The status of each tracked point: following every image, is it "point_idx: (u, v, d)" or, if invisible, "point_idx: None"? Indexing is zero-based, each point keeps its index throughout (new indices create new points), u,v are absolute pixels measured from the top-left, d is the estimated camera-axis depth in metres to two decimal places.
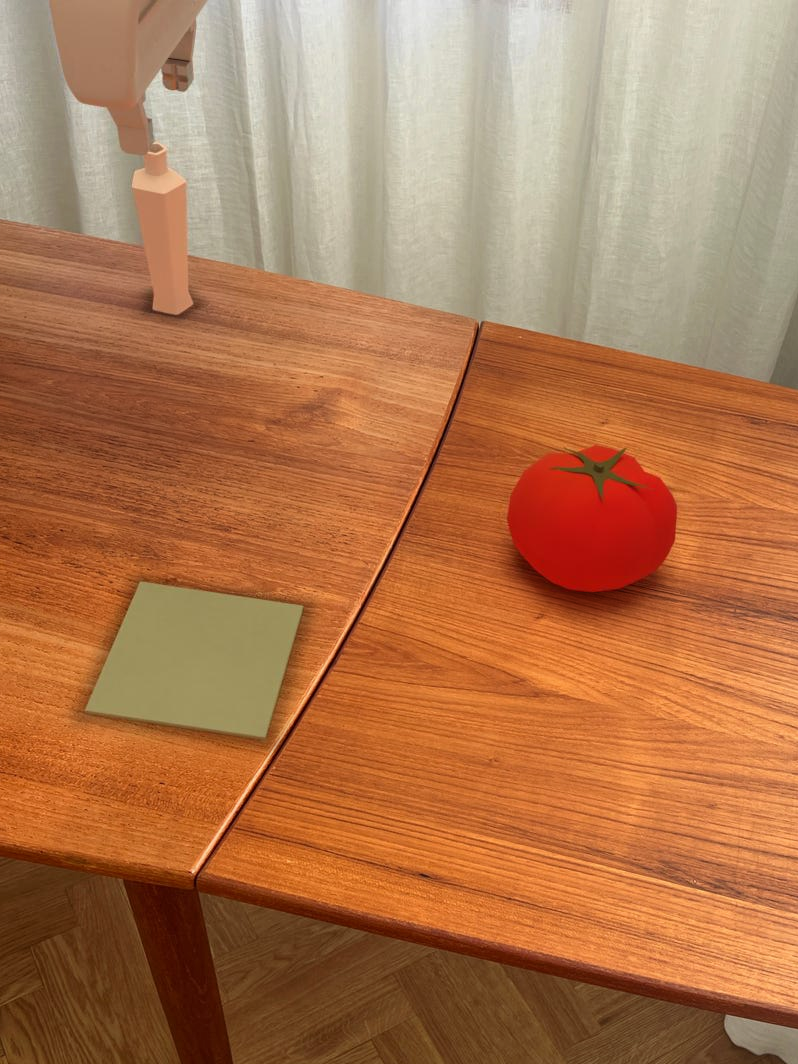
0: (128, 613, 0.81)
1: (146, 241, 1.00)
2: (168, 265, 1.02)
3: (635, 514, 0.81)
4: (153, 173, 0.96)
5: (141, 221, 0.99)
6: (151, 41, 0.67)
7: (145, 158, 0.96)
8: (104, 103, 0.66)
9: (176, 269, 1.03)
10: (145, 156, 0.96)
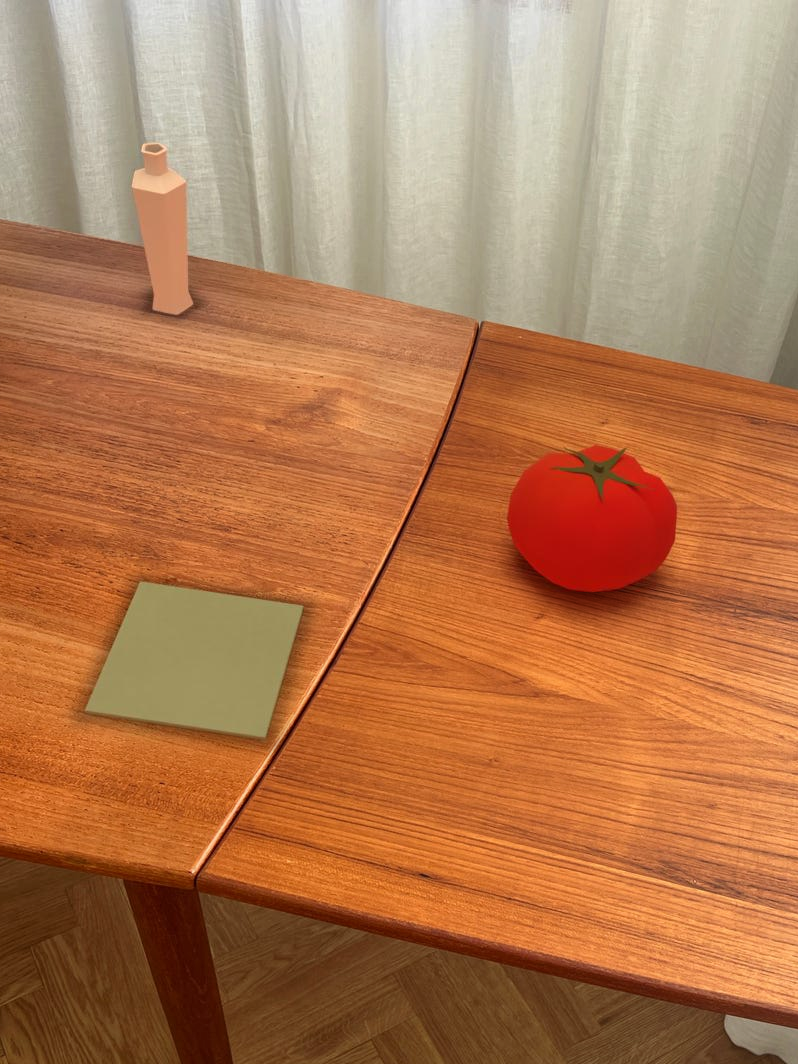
0: (128, 613, 0.81)
1: (146, 241, 1.00)
2: (168, 265, 1.02)
3: (635, 514, 0.81)
4: (153, 173, 0.96)
5: (141, 221, 0.99)
6: None
7: (145, 158, 0.96)
8: None
9: (176, 269, 1.03)
10: (145, 156, 0.96)
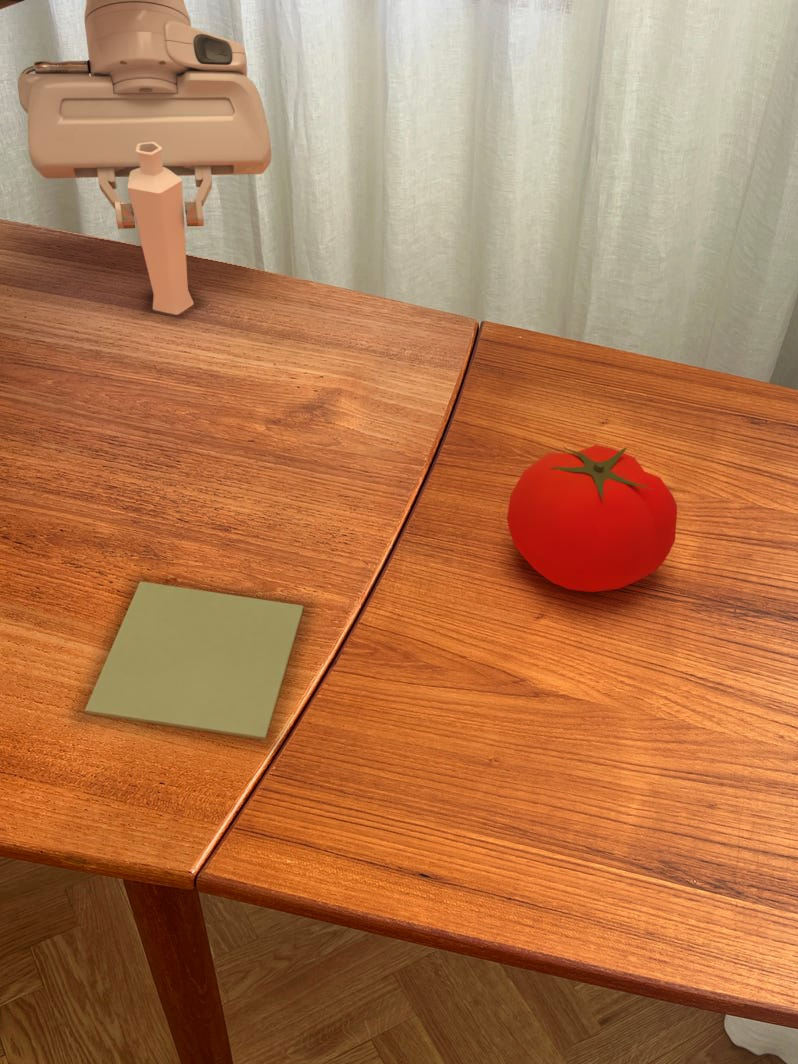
0: (128, 613, 0.81)
1: (143, 241, 1.00)
2: (166, 265, 1.02)
3: (635, 514, 0.81)
4: (148, 172, 0.96)
5: (138, 221, 0.99)
6: None
7: (140, 158, 0.96)
8: (268, 164, 1.02)
9: (174, 268, 1.03)
10: (140, 156, 0.95)
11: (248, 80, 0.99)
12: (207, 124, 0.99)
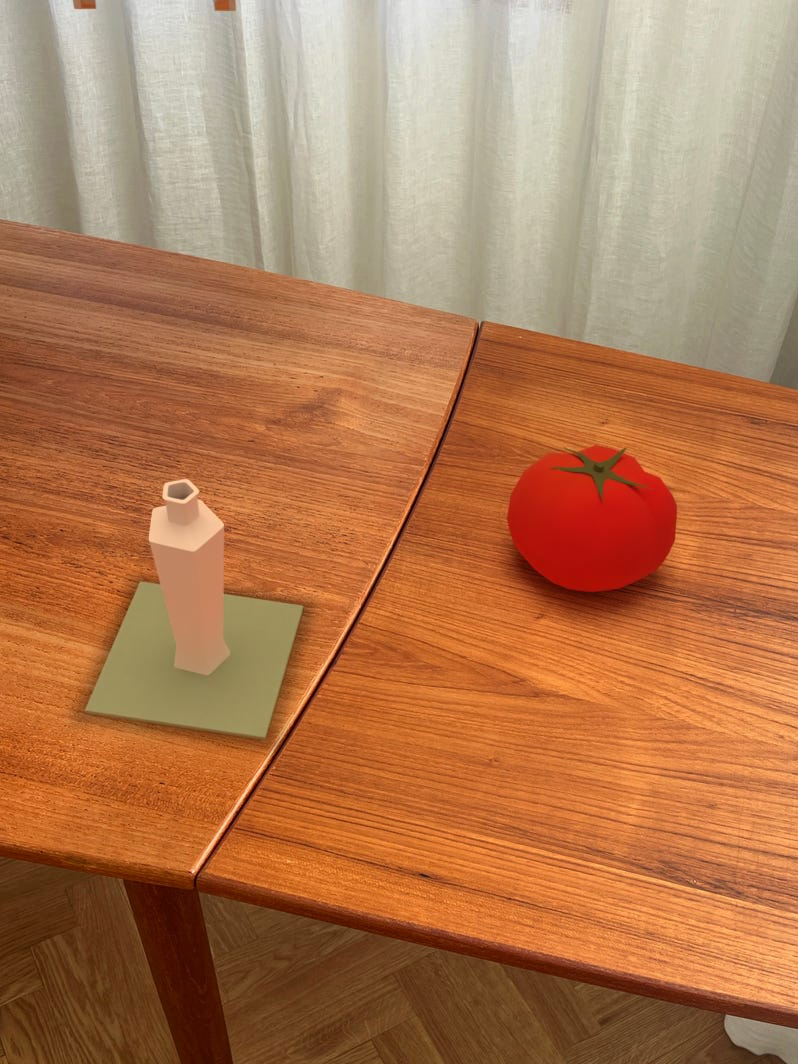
0: (128, 613, 0.81)
1: (167, 596, 0.73)
2: (198, 623, 0.74)
3: (635, 514, 0.81)
4: (178, 521, 0.69)
5: (161, 576, 0.71)
6: None
7: (168, 505, 0.68)
8: None
9: (208, 624, 0.75)
10: (168, 503, 0.68)
11: None
12: None
